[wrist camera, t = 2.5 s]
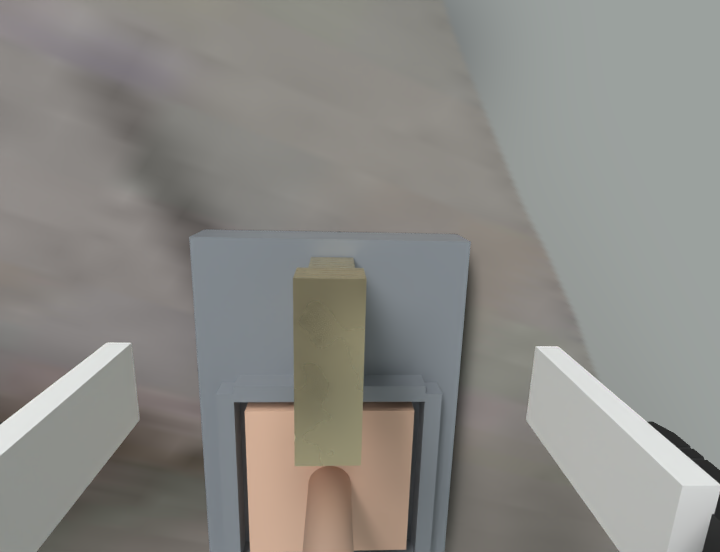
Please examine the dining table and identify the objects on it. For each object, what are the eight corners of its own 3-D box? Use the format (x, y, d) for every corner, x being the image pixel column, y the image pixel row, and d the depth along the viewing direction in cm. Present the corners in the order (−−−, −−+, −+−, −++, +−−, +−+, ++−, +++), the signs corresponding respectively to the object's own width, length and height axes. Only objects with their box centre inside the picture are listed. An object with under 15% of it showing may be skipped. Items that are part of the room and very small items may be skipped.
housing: (434, 521, 34) (449, 573, 30) (221, 525, 33) (203, 579, 29) (457, 234, 29) (478, 246, 25) (204, 229, 28) (180, 241, 24)
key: (349, 428, 28) (357, 587, 18) (311, 429, 28) (295, 588, 18) (353, 231, 25) (366, 279, 15) (311, 230, 25) (292, 278, 15)
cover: (402, 531, 31) (433, 700, 21) (254, 534, 30) (215, 709, 20) (410, 398, 28) (449, 519, 19) (249, 398, 28) (202, 523, 18)
